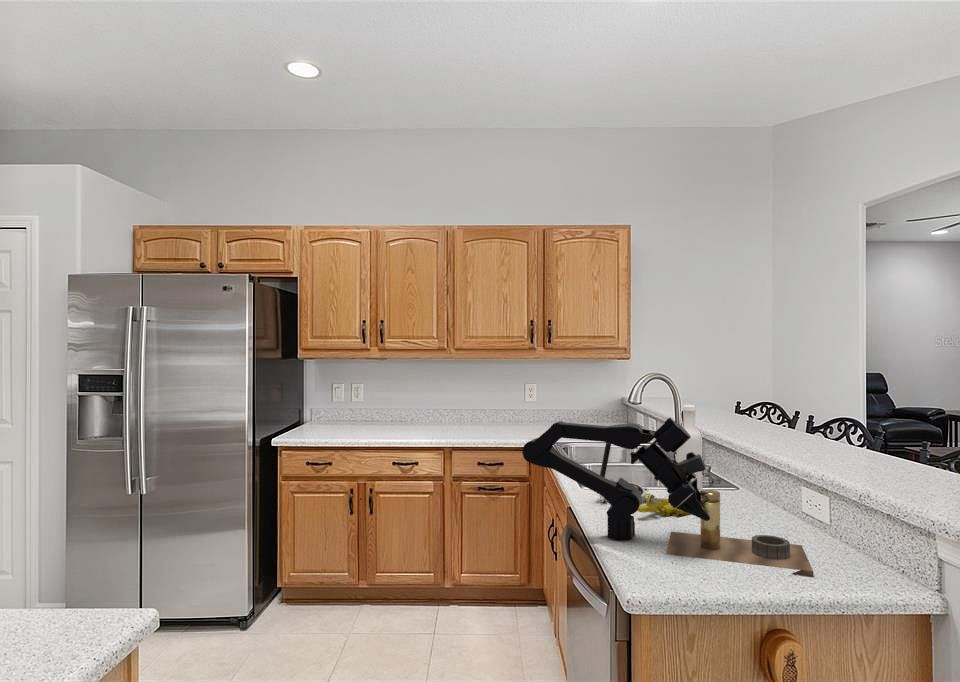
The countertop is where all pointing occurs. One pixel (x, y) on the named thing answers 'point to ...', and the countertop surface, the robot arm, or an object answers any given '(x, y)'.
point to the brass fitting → (712, 526)
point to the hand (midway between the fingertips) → (708, 514)
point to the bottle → (691, 440)
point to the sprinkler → (660, 507)
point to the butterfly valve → (644, 491)
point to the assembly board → (744, 551)
